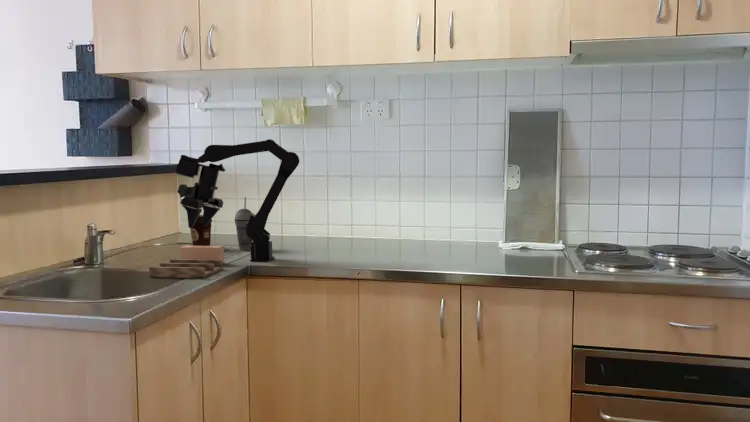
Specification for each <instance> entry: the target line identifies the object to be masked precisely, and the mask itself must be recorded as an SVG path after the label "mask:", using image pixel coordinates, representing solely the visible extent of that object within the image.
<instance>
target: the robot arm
mask: <svg viewBox="0 0 750 422" xmlns="http://www.w3.org/2000/svg"><path fill="white" fill-rule="evenodd" d="M263 152H269V153H271V154H272V155H273V156H274V157H275V158H277V159H279V160H280V165H279V168H278V171H277V175H276V176H275V179H274V181H273V183H272V185H271V187H270V189H269V190H268V193H267V194H266V195H265V198H264V199H263V202H262V204H261V205H260V208H259V209H258V211H257V212H256V213H253V212H252V214H251V216H250V219H249V221H248V222H247V223H246V225H245V226H247V228H246V234H247V236H248V237H249V238H251V239H252V243H251V245H252V246H251V247H250V251H249V252H250V260H249V262H270V261H272V260H274V259H275V256H274V255H273V242H272V240H270V239H271V233H270V232H269V231H267V230H266V229H265V228H266V224H267V221H268V218H269V215H270V213H271V211H272V209H273V207H274V205H275V203H276V201H277V199H278V198H279V195H281V192H282V189H283V188H284V186H285V184H286V182H287V180H288V179H289V178H290V177H291V175H292V174H293V173H294V172H295V170H296V169H297V168H298V166H299V164H300V158H299V156H298V153H295V152H293V151H287V150H286V149H285V148H284V147H282V146H280V145H279V144H278V143H276V141H274V140H273V139H270V138H269V139H266V140H261V141H252V142H246V143H239V144H233V145H231V144H210V145H208V146H206V147H205V149H204V152H203V154H202V155H200V156H198V158H196V157H191V156H188V155H187V154H181V155H180V159H179V161H178V163H177V165H176V168H175V169H176V170H175V175H178V176H183V177H186V178H191V179H195V176H196V177H198V176H199V178H198V182H197V181H196V182H194V184H193V186H188V185H187V184H182V183H181V184H179V186H178V189H177V193H178V194H179V198H181V199H180V203H179V204H180V205H181V206H182V208H184V210H185V211H186V215H187V223H188V224H187V226H188V228H189V229H190V228H192V227H193V225H194V224H195V222H196V220H197V218H198V217H199V215H201V214H202V215H203V221H202V226H204V227H205V226H206V225H207V224H208V223H209V221H210V220H211V219H212V218H213V217H215V215H216V214H217V213H218V212H219V211H220V209H221V208H223V205H224V201H223V200H222V198H218V197H215V196H214V195H215V190H216V191H217V190H218V188H219V186H217V183H218V177H219V172H223V173H224V172H225V171H226V169H225V167H224V165H223V163H220V164H214V163H218V162H221V161H223V160H226V159H229V158H232V157H236V156H242V155H248V154H249V155H250V154H256V153H263ZM207 162H209V164H208V165H206V164H204V163H207ZM199 173H200V174H199ZM202 211H203V213H202ZM212 220H213V219H212Z"/></svg>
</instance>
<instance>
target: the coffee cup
mask: <svg viewBox="0 0 750 422" xmlns="http://www.w3.org/2000/svg"><path fill="white" fill-rule="evenodd" d="M202 221H203V214H200V215H199V217H198V218H197V220H196V222H195V224H194V225H193V227H192V228H189V230H190V231H189V232H190V237H191V242H192V246H211V244H212V243H211V241H212V240H211V239H212V238H211V237H212V236H211V235H212V222H213V219H211V220H210V221H209V223H208V224H207V225H206V226H205V227H204V226H202Z"/></svg>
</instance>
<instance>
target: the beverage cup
mask: <svg viewBox="0 0 750 422" xmlns="http://www.w3.org/2000/svg"><path fill="white" fill-rule="evenodd" d="M246 206H247V197H246V196H245V197H244V207H243V208H240V209H239V210H237V212H236V213H235V216H234V224H235V228H236V234H237V243H238V247H239V251H240V252H247V251H249V252H250V247H251V246H252V245H251V243H252V242H253V240H252V239H251V238H249V237H248V236H247V234H246V228H247V226H245V225H246V223H247V222H248V221H249V219H250V216H251V214H252V213H253V212H252V211H251V210H250V209H248V208H247V207H246Z"/></svg>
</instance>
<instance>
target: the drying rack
mask: <svg viewBox="0 0 750 422" xmlns="http://www.w3.org/2000/svg"><path fill="white" fill-rule="evenodd" d="M223 269H224V265H223V261H222V260H196V259H181V258H170V259H169V262H160V263H159V266H149V267H148V273H149V278H180V279H181V278H184V279H189V278H190V279H192V278H191V277H205V278H207V277H206V276H208V275H210V274H212V275H214V274H216V273H218V272H220V271H222V270H223ZM219 270H220V271H219ZM217 271H218V272H217ZM215 272H216V273H215ZM213 273H214V274H213ZM210 276H211V275H210ZM208 277H209V276H208Z"/></svg>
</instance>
